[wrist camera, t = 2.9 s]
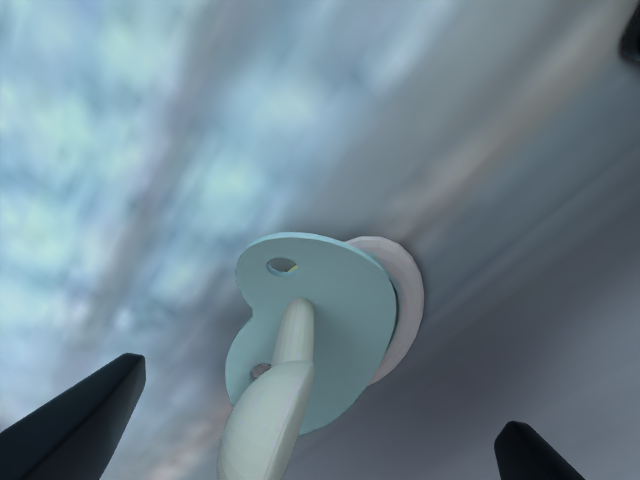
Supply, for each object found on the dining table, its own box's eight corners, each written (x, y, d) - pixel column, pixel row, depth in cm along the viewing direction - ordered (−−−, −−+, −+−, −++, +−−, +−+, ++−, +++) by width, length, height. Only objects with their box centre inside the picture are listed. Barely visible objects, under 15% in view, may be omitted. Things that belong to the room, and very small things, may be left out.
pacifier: (450, 229, 10) (252, 190, 10) (613, 424, 4) (153, 358, 4) (381, 392, 13) (231, 370, 13) (426, 624, 8) (160, 602, 7)
